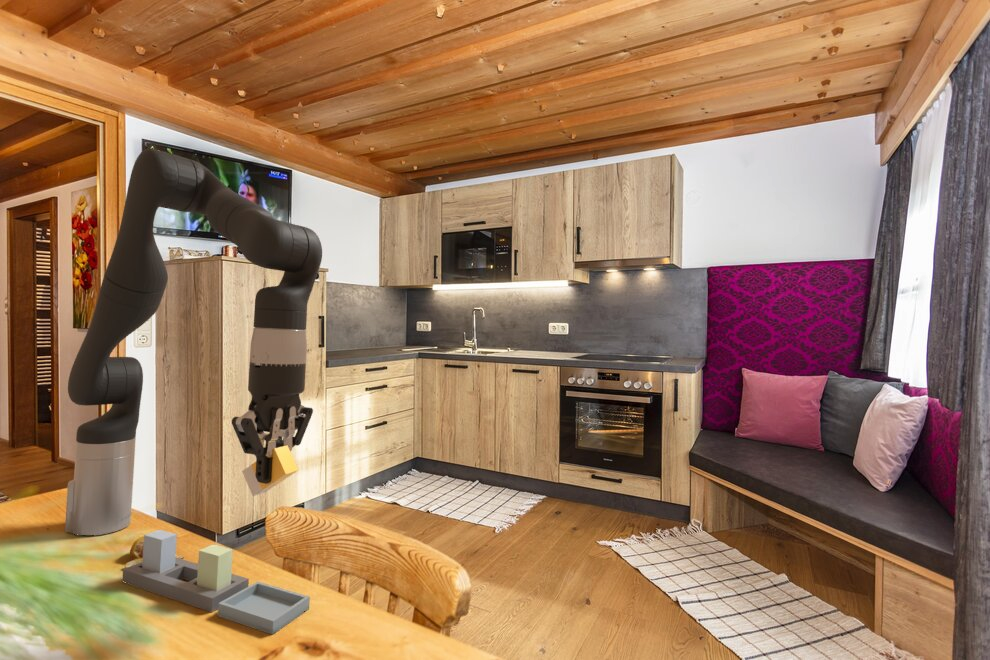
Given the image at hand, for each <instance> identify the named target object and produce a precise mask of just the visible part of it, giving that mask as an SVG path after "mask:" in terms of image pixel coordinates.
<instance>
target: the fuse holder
mask: <svg viewBox="0 0 990 660" xmlns="http://www.w3.org/2000/svg"><path fill="white" fill-rule="evenodd" d="M180 558H181V557H180ZM180 558H179V557H178V556H177V557H175V567H174V568H171V569H169V570H167V571H164V572H162V573H160V574H159V573H156V572H153V571H150V570H146V569H143V568H142V562H140V563H138V564H135V565H133V566H130V567H128V568H125V567H124V568H123V569H122V578H121V581H124V582H126V583H129V584H131V585H130V586H132V585H133V587H135V586H136V587H135V588H138V589H140V590H145V591H147V592H151V593H153V594H156V595H160V596H162V597H165V598H169V599H172V600H175V601H176V602H180V603H183V604H187V605H188V606H192V607H195V608H198V609H200V610H204V611H206V612H210V613H213V612H215V611H216V610H217V611H218V603H220V602H222V601H223V600H225V599H227V598H229V597H231V596H232V595H234V594H236V593H238V592H240V591H241V590H243V589H245V588H247V587H249V581H250V579H249V578H248V577H244V576H240V575H238V574H234V573H231V584H230V585H228V586H227V587H225V588H223V589H221V590H219V591H217V592H216V591H213V590H210V589H207V588H203V587H200V586H197V574H198V562H193V561H190V560H187V559H183V558H182V559H180ZM184 580H187V581H184ZM126 583H125V584H126ZM129 584H128V585H129Z"/></svg>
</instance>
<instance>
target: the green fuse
mask: <svg viewBox="0 0 990 660" xmlns="http://www.w3.org/2000/svg"><path fill="white" fill-rule="evenodd" d="M233 552H234V549H232V548H228V547H225V546H220V545H217V544H211V545H209V546H206V547H204V548H202V549H199V550H198V557H197V558H198V560H197V561H198V562H197V564H198V574H197V586H200V587H203V588H207V589H210V590H213V591H216V592H217V591H219V590H221V589H223V588H225V587H227V586H228V585H230V584H231V574H232V570H233V556H234V554H233Z"/></svg>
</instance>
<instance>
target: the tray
mask: <svg viewBox="0 0 990 660" xmlns="http://www.w3.org/2000/svg"><path fill="white" fill-rule="evenodd" d="M310 598H311V597H310V596H308V595H305V594H302V593H299V592H295V591H293V590H292V591H291V590H288V589H285V588H281V587H278V586H275V585H270V584H267V583H265V582H261V581H256V582H254V583H252V584H250V585H248V587H247V588H245V589H243V590H241V591H240V592H238V593H236V594H234V595H232V596H231V597H229V598H227V599H225V600H223V601H222V602H220V603H218V609H217V617H220V618H222V619H225V620H228V621H231V622H235V623H237V624H240V625H243V626H247V627H249V628H251V629H252V628H253V629H255V630H258V631H261V632H263V633H266V634H269V635H275V634H276V633H277V632H279V631H280V630H281V629H283V628H284V627H285V626H287V625H289V624H290V623H291V622H293V621H294V620H296V619H297V618H299V617H300V616H301V615H303V614H304V613H305V612H304V611H306V610H307V609H308V610H310ZM308 610H307V611H308ZM307 611H306V612H307ZM303 612H304V613H303ZM302 613H303V614H302Z"/></svg>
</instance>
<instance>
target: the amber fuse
mask: <svg viewBox="0 0 990 660" xmlns="http://www.w3.org/2000/svg"><path fill="white" fill-rule="evenodd" d="M272 457H273V461H272V478H271V482H270V483H267V484H265V483H260V482H258V481H257V479H256V476H255V474H256V461H254V462H253V463H252V464H250V465H249V466H248V467H246V468H245V469H243V470H242V471H241V473H242V474H243V476H244V479H245V481H246V484H247V485H248V489H249V491H250V493H251V496H252V497H255V496H258V495H260V494H264V493H267V492H269V491H270V490H271V489H273V488H274V487H276V486H277V485H279V484H280V483H282V482H283V481H285V480H286V479H288V478H290V477H291V476H292V475H293V474H295V473H296V472H298V471H299V468H298V465H297V463H296V461H295V459H294V457H293V455H292V451H290V450H289V448H288V445H287V446H283V447H279V448H275V449H274V452H273V455H272Z"/></svg>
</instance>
